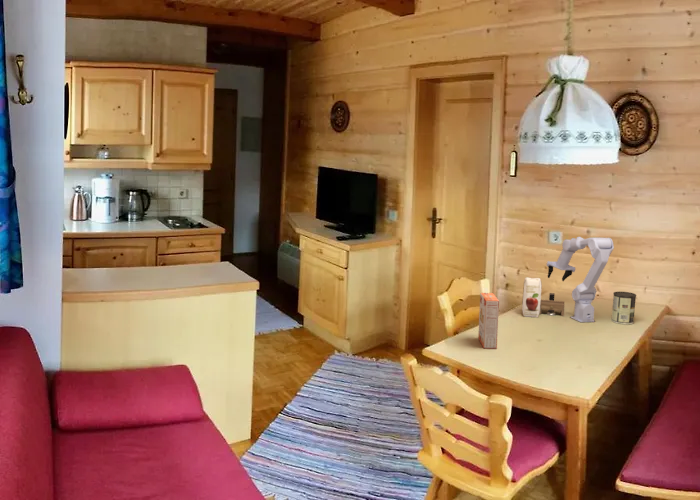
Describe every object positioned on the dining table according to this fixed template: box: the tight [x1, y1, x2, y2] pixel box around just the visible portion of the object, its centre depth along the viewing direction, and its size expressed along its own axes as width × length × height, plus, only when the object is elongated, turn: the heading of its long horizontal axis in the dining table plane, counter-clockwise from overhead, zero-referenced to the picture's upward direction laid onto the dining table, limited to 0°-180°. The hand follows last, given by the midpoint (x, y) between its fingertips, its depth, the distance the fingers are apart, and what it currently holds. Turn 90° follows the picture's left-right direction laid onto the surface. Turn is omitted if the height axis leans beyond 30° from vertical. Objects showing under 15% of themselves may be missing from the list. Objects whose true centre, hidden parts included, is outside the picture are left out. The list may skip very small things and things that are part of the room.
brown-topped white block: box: [547, 292, 556, 313], centre depth 347 cm, size 15×3×7 cm, turn 163°
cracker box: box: [477, 292, 500, 350], centre depth 281 cm, size 14×6×21 cm, turn 178°
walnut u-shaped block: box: [539, 299, 566, 317], centre depth 336 cm, size 8×12×6 cm
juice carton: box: [521, 276, 543, 318], centre depth 330 cm, size 8×9×19 cm
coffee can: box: [610, 291, 637, 325], centre depth 324 cm, size 10×10×14 cm
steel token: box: [546, 311, 556, 317], centre depth 335 cm, size 4×4×1 cm
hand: (555, 278), depth 350 cm, fingers open, 7 cm apart
